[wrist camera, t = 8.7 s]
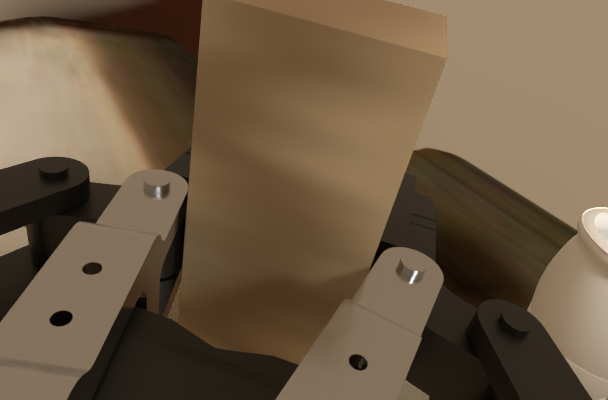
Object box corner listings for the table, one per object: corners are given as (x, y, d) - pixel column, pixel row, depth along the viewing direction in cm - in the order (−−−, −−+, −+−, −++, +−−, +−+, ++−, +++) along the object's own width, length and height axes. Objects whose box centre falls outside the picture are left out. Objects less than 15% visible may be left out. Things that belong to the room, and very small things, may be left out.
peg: (307, 416, 17) (446, 16, 9) (277, 522, 14) (446, 57, 6) (214, 382, 17) (277, -28, 10) (166, 477, 14) (203, -9, 7)
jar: (622, 455, 37) (762, 325, 29) (491, 389, 39) (587, 253, 31) (607, 360, 45) (713, 240, 37) (501, 312, 48) (578, 190, 40)
